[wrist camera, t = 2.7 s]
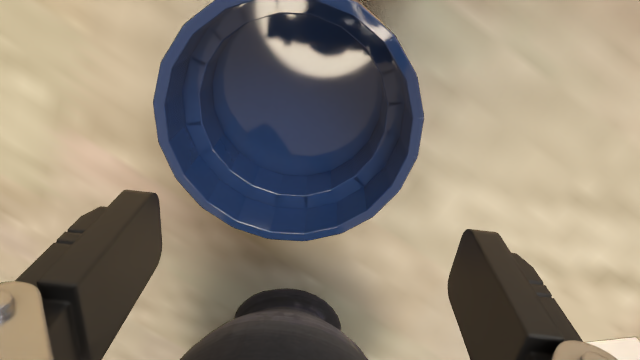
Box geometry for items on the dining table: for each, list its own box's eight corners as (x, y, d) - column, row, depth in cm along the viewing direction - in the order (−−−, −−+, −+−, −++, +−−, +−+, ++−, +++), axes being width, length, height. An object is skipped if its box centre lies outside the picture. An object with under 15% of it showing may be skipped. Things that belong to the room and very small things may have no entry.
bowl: (419, -14, 25) (445, -9, 19) (390, 195, 31) (403, 247, 25) (181, -26, 25) (134, -25, 19) (201, 185, 31) (170, 234, 25)
